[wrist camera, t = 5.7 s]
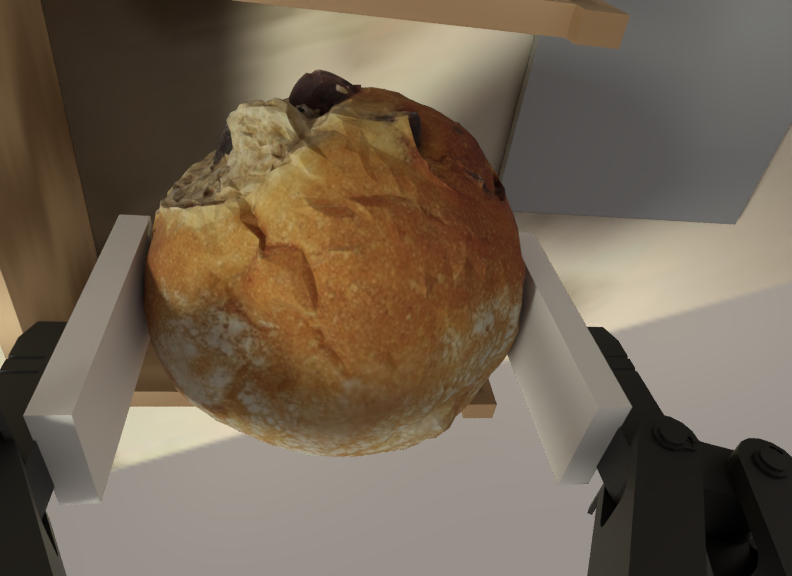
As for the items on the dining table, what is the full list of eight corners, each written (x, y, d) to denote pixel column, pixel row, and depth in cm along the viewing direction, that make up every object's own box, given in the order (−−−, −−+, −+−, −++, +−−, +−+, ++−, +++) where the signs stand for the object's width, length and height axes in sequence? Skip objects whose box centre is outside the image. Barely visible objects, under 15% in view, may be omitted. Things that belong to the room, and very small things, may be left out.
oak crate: (-12, -109, 17) (-187, -85, 11) (536, -36, 20) (630, 15, 14) (85, 288, 26) (17, 419, 20) (455, 299, 29) (492, 417, 23)
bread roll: (183, 247, 21) (146, 481, 17) (136, -6, 12) (37, 373, 8) (447, 270, 23) (463, 482, 19) (577, 72, 14) (653, 399, 10)
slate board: (574, -120, 19) (580, -119, 18) (886, -70, 21) (897, -69, 20) (491, 204, 26) (494, 210, 25) (729, 219, 28) (735, 224, 27)
